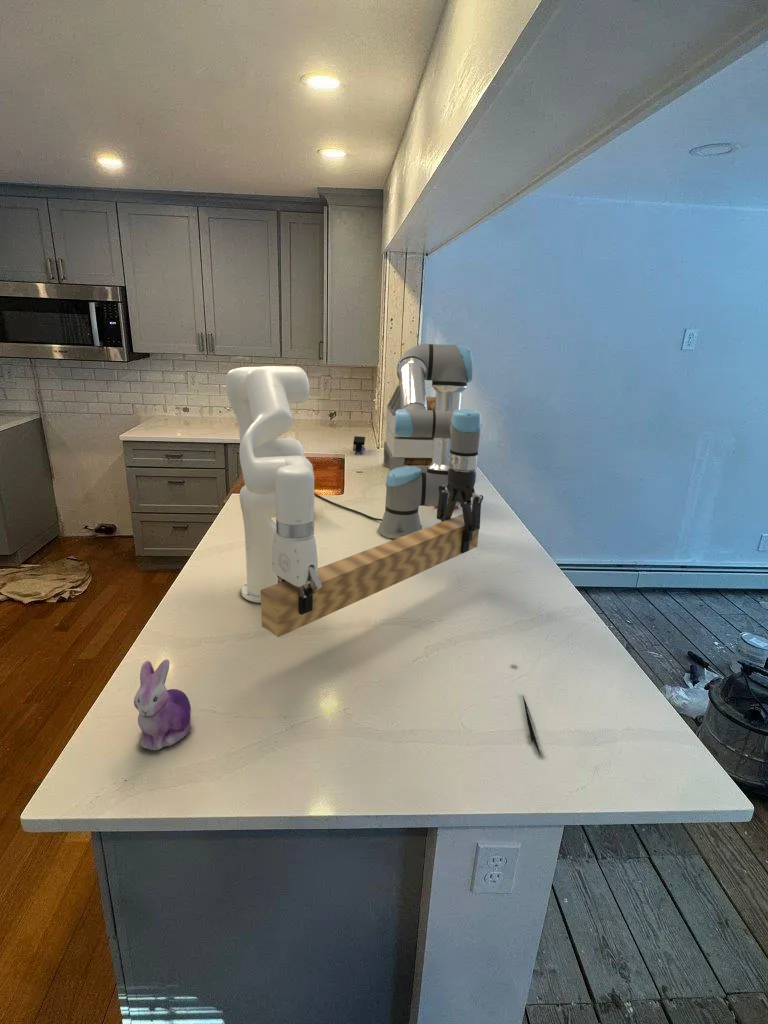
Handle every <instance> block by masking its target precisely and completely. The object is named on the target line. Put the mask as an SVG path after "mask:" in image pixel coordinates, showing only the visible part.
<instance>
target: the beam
mask: <svg viewBox="0 0 768 1024" xmlns="http://www.w3.org/2000/svg"><path fill="white" fill-rule="evenodd" d="M463 530H465V524H464V518H463V513H461V514H459V515H456V516H454V517H451V519H448V520H446V521H443V522H441V521H440V522H438V523H436V524H433V525H430V526H428V527H425V528H422V530H419V531H416V532H414V533H411V534H408V535H406V536H403V537H400V538H398V539H391V540H390V541H388V542H387V541H386V542H385V543H381V544H379V545H377V546H374V547H370V548H368V549H366V550H363V551H361V552H358V553H355V554H353V555H350V556H347V557H345V558H342V559H339V560H337V561H334V562H331V563H329V564H326V565H324V566H321V567H318V575H317V577H318V579H319V581H320V583H321V585H322V588H320V589H319V590H317V592H315V594H314V595H313V609H312V611H309V612H307V613H305V614H303V615H301V614H299V597H301V594H300V590H299V587H297V586H295V585H293V584H291V583H289V582H288V581H283V582H280V583H278V584H275V585H272V586H270V587H267V588H264V589H262V590H261V603H260V612H261V627H262V628H264V629H265V630H266V631H268V632H270V633H271V634H272V635H273V636H276V638H280V637H282V636H284V635H287V634H289V633H291V632H293V631H295V630H297V629H300V628H302V627H304V626H306V625H309V624H311V623H313V622H315V621H317V620H319V619H321V618H323V617H326V616H328V615H331V614H333V613H336V612H338V611H339V610H341V609H344V608H346V607H348V606H350V605H353V604H354V603H356V602H359V601H361V600H363V599H366V598H368V597H370V596H373V595H375V594H377V593H379V592H381V591H383V590H385V589H387V588H390V587H392V586H394V585H396V584H398V583H401V582H403V581H405V580H407V579H409V578H412V577H414V576H416V575H419V574H421V573H423V572H424V571H428V570H429V569H432V568H435V567H436V566H439V565H441V564H442V563H445V562H447V561H449V560H451V559H453V558H456V557H458V556H460V555H463V553H461V544H462V533H463ZM479 532H480V529H478V530H476V531H473V536H472V541H471V542H470V544H469V551H472V550H473V549H476V548H478V541H479V535H480V534H479ZM304 587H305V591H306V590H307V589H308V584H307V585H304Z"/></svg>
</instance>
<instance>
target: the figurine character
mask: <svg viewBox="0 0 768 1024" xmlns="http://www.w3.org/2000/svg"><path fill="white" fill-rule="evenodd" d="M365 442H366V436H358V435H354V436H353V444H352V451H353V452H355V454H354V455H357V453H358V454H360V455H362V454H363V452H365V450H366V447H365Z"/></svg>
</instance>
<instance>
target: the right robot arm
mask: <svg viewBox="0 0 768 1024" xmlns="http://www.w3.org/2000/svg"><path fill="white" fill-rule="evenodd" d="M473 373H474V363H473V355H472V351H471V350H470V348H469V346H466V345H459V344H440V343H439V344H438V343H437V344H436V343H435V344H434V343H433V344H432V343H419V344H417V345H414V346H412V347H411V348H409V349H408V350H407V351H405V352H404V353H403V354H402V355H401V357H400V358H399V360H398V362H397V365H396V376H397V378H398V381H399V382H400V383H399V385H400V386H401V409H398V410H396V412H395V427H394V428H395V429H394V432H395V434H396V435H397V436H404V437H425V438H433V454H432V463H431V464H430V465H428V466H426V472H424V471H423V472H422V469H421V468H420V467H419V466H407V465H404V467H398V468H395V469H392V470H391V471H390V470H389V471H388V473H387V475H386V482H385V486H386V488H385V489H386V490H385V504H384V505H385V507H384V508H385V509H384V513H383V515H382V518H377V517H373V516H370V515H368V514H366V513H363V512H361V511H358V510H356V509H353V508H349V507H346V506H344V505H341V504H339V503H336V502H333V501H332V500H329V499H327V498H325V497H322V496H321V495H320V494H318V493H315V492H314V496H316V497H317V498H319V499H322V500H323V501H325V502H327V503H330V504H332V505H334V506H337V507H338V508H341V509H345V510H348V511H351V512H353V513H356V514H359V515H362V516H364V517H366V518H368V519H371V520H374V521H379V526H378V533H379V534H380V535H381V536H382V537H385V538H387V539H389V540H395V539H398V538H400V537H403V536H406V535H408V534H411V533H414V532H416V531H419V530H422V529H423V525H422V524H421V518H420V515H419V507H435V506H438V508H436V509H437V511H436V519H437V520H439V521H440V522H443V521H446V520H448V519H451V518H452V516H453V513H454V511H455V509H456V508H455V507H456V506H458V507H459V506H460V508H461V511H462V514H463V518H464V524H465V530H463V533H462V544H461V553H462V554H465V553H468V552H469V551H470V550H469V544H470V542H471V541H472V536H473V531H476V530H478V529H479V530H480V529H481V513H482V503H483V500H484V496H483V494H478V493H476V490H475V484H476V480H477V470H476V469H477V468H478V460H479V459H478V458H479V446H480V438H481V429H482V414H481V412H479V411H478V410H474V409H466V408H464V409H463V408H462V395H463V392H464V391H465V390H467V387H468V384H469V383H471V382H472V381H473ZM425 381H430V382H431V387H432V388H433V390H434V391H435V397H436V403H435V411H431V410H427V401H426V397H427V392H426V382H425Z"/></svg>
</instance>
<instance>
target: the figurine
mask: <svg viewBox="0 0 768 1024" xmlns="http://www.w3.org/2000/svg"><path fill="white" fill-rule="evenodd" d="M170 665H171V664H170V659H168V658H166V659H164V660H162V661H161V663H159V664H158V666H157V668H156V669H154V667H153V664H152V662H151V661H150V660H146V661H144V662H143V663H142V665H141V668H140V673H139V682H140V685H139V688H138V689H137V691H136V694H135V696H134V698H133V705H134V707H135V709H136V710H137V711H138V716H137V724H138V727H139V729H140V730H141V733H142V736H141V742H140V745H141V747H142V748H143V749H147V750H150V751H159V750H160V749H163V748H164V747H165V748H166V747H170V746H173V745H174V744H177V743H178V742H179V741H181V740H182V739H183V738H184V737H185V736H186V735H188V734H189V732H190V729H191V718H192V716H191V715H192V707H191V702H190V700H189V698H188V695H187V694H186V693H185V692H184V691H182V690H180V689H176V688H171V689H167V688H166V685H165V684H166V680H167V677H168V674H169V670H170Z"/></svg>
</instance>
